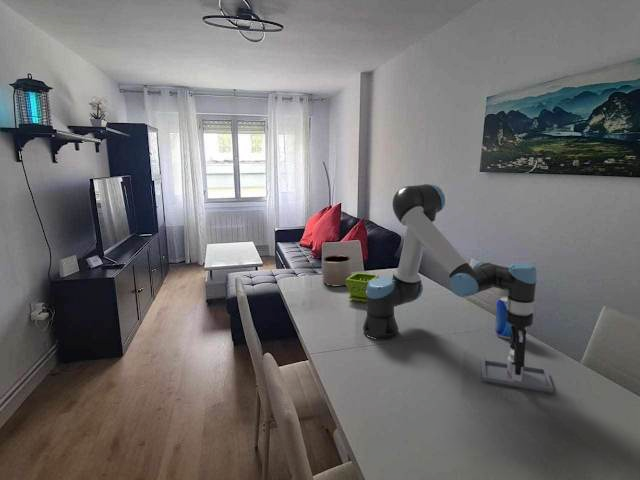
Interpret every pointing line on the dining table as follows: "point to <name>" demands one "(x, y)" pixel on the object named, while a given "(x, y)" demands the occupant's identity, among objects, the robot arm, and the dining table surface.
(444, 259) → the robot arm
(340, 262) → the planter
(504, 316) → the beer can
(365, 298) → the flower pot
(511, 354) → the pill bottle
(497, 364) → the rest tray
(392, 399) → the dining table surface
